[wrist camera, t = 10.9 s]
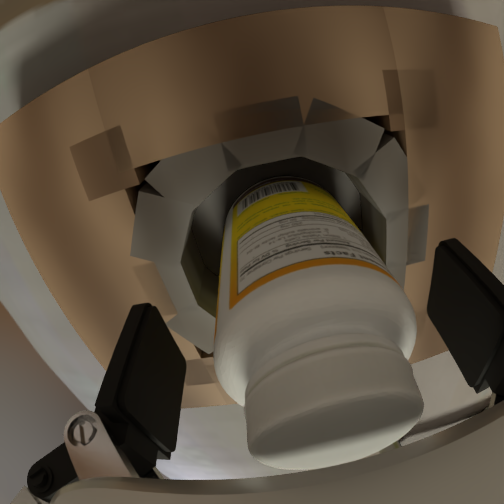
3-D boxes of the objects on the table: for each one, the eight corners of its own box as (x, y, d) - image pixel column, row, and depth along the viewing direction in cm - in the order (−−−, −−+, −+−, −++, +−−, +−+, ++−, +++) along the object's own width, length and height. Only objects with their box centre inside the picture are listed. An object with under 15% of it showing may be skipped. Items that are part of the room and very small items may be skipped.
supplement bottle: (296, 293, 16) (337, 482, 7) (203, 247, 14) (168, 461, 6) (363, 212, 14) (489, 386, 5) (266, 147, 12) (336, 319, 3)
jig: (458, 29, 9) (497, 26, 6) (450, 312, 18) (470, 341, 15) (21, 124, 11) (-17, 137, 8) (147, 375, 19) (139, 409, 17)
